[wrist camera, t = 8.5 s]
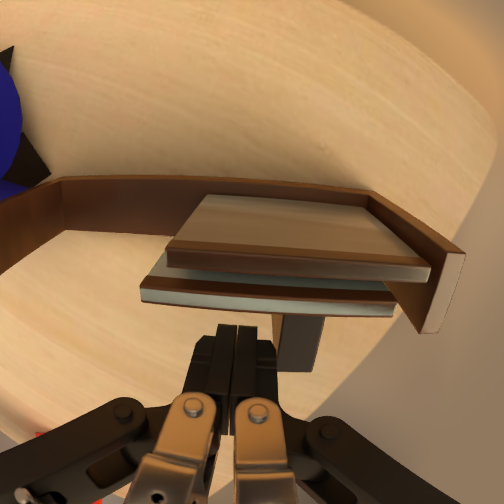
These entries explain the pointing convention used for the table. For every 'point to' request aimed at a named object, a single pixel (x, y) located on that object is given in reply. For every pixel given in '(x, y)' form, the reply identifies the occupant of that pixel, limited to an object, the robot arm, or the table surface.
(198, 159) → the table surface
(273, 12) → the table surface
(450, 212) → the table surface
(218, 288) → the panel
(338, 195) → the window frame
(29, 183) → the alarm clock
